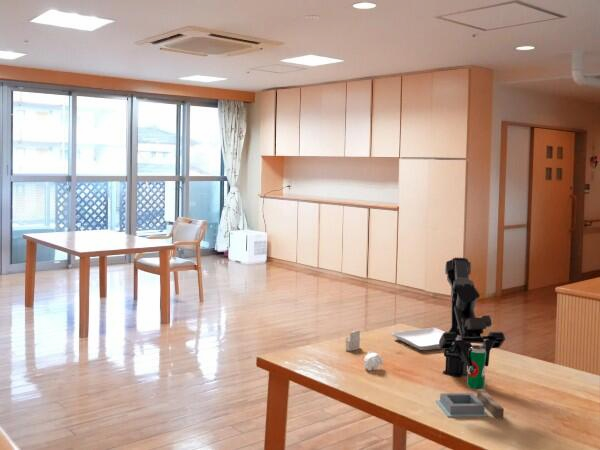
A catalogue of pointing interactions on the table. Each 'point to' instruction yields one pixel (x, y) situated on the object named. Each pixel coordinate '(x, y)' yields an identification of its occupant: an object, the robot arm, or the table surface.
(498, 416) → the long brown rectangular bar
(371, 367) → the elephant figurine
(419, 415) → the table surface
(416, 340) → the salad plate
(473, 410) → the socket
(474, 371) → the soda can
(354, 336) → the architectural model
